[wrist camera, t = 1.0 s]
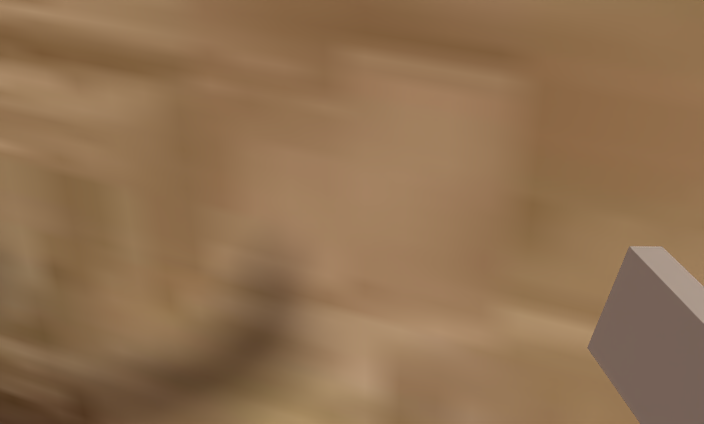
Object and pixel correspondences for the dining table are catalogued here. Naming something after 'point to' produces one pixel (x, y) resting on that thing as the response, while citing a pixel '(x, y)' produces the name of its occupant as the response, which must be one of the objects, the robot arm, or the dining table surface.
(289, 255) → the dining table surface
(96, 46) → the dining table surface
